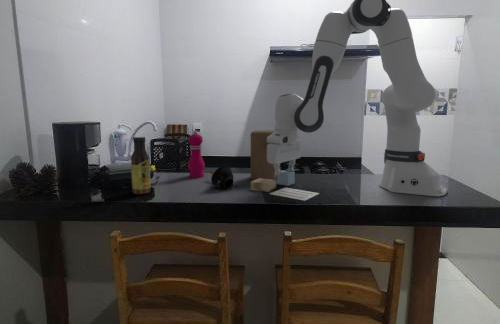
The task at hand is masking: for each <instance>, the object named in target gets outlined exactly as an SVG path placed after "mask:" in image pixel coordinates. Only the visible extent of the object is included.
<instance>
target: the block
mask: <svg viewBox="0 0 500 324" xmlns="http://www.w3.org/2000/svg"><path fill="white" fill-rule="evenodd" d="M273 132H274V129H273V130H271V129H270V130H267V129H266V130H265V129H264V130H263V129H256V130H254V131H252V132H250V179H251V180H252V181H254V180H256V179H259V178H262V179H271V180H276V179H277V175H276V174H275V168H274V166H273V164H270V163H268V161H267V145H268V144H269V143H267V137H268V136H270V135H271V134H272V133H273Z"/></svg>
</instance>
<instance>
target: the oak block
mask: <svg viewBox="0 0 500 324" xmlns="http://www.w3.org/2000/svg"><path fill="white" fill-rule="evenodd" d="M275 189H277V179H274V180H271V179H262V178H259V179H256V180H252V181H251V182H250V190H251V191H256V192H257V191H258V192H264V193H265V192H266V193H270V192H271V191H272V190H275Z"/></svg>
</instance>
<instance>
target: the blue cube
mask: <svg viewBox="0 0 500 324" xmlns="http://www.w3.org/2000/svg"><path fill="white" fill-rule="evenodd" d="M295 173H296V172H295V171H288V170H281V174H279V175H277V176H276V185H281V186H287V187H289V186H291V185H294V184H295V183H296V182H295V181H296V180H295V179H296V178H295V177H296V175H295Z"/></svg>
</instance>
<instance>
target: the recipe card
mask: <svg viewBox="0 0 500 324" xmlns="http://www.w3.org/2000/svg"><path fill="white" fill-rule="evenodd" d="M319 194H320V193H319V192H313V191H308V190H304V189H303V190H302V189H295V188H290V187H283V188H280V189H278V190H275V191H272V192H269V195H273V196H277V197H279V196H280V197H283V198H289V199H294V200H300V201H304V202H305V201H307V200H310V199H311V198H313V197H315V196H318V195H319Z"/></svg>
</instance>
